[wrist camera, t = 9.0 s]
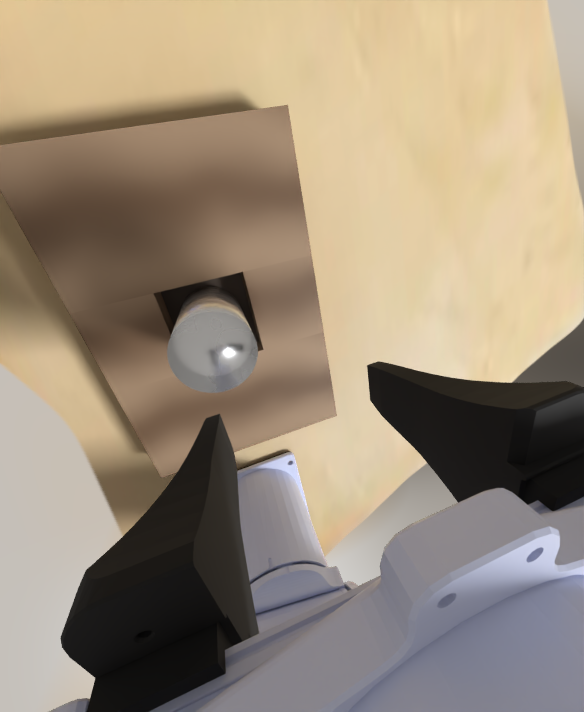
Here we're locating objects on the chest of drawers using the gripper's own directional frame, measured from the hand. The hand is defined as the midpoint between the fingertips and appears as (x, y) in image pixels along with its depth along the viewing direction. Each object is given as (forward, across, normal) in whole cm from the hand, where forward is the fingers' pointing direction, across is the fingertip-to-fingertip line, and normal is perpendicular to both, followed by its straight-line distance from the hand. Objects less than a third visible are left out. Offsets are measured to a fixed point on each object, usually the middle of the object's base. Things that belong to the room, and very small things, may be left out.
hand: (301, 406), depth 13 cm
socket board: (+9, +3, -3) cm, 10 cm away
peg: (+9, +3, -3) cm, 10 cm away
